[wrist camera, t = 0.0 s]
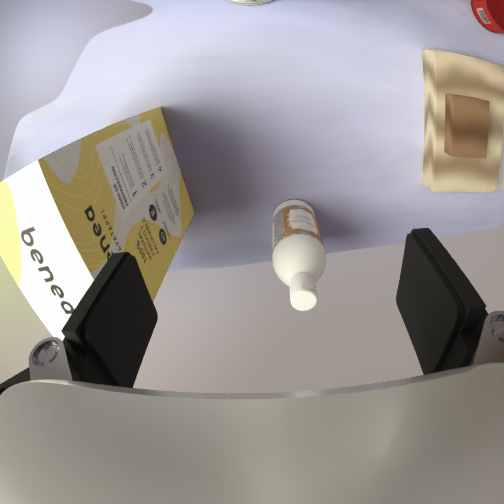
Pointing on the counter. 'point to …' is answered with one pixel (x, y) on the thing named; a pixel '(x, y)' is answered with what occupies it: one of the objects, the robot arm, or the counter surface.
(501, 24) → the canned food
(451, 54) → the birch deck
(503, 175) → the cream mat
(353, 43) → the counter surface
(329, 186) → the counter surface
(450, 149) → the walnut tile
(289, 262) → the bath foam
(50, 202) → the pasta box
